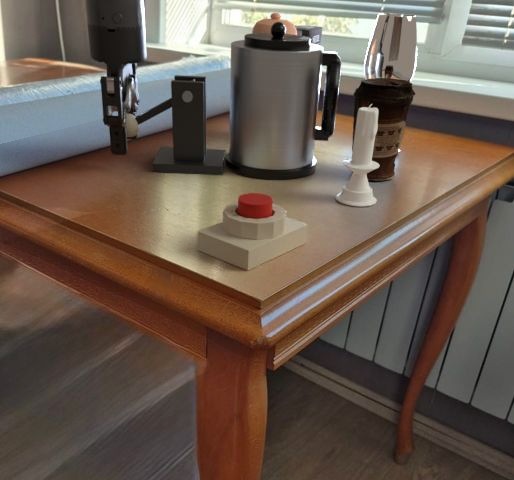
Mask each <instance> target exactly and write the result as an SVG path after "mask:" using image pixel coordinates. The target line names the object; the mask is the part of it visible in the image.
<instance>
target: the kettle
mask: <svg viewBox="0 0 514 480" xmlns="http://www.w3.org/2000/svg"><path fill="white" fill-rule="evenodd" d="M285 31H286V29H285V26H284V24H283V23H281V22H275V23H274V24H273V25H272V27H271V33H252V32H251V33H247V34H244V39H240V40H234V41H232V42H231V43H230V76H229V77H230V81H229V82H230V83H229V84H230V85H229V95H230V96H229V134H228V135H229V139H228V140H229V142H228V143H229V147H228V152H227V153H226V154H225V167H226V168H227V169H228V170H229V171H231V172H232V173H234V174H237V175H240V176H244V177H246V178H247V177H248V178H253V179H258V180H259V179H260V180H270V181H285V180H297V179H301V178H305V177H308V176H310V175H312V174H314V173H315V172H316V169H317V159H316V157H315V156H314V155H315V145H316V141H319V142H329V138H331V137H333V135H334V133H335V130H336V129H335V127H336V120H337V119H336V118H337V109H338V99H339V89H340V82H341V81H340V80H341V74H342V73H341V72H342V59H341V57H340V56H339V55H338V52H336V51H324V47H323V46H322V45H321V46H320V45H316V44H312V43H311V38H309V37H305V36H300V35H292V34H285ZM323 67H326V70H325V79H324V80H325V82H324V89H323V101H322V111H321V121H320V126H317V123H318V113H319V102H320V91H321V82H322V81H321V80H322V70H323Z"/></svg>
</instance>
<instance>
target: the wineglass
mask: <svg viewBox="0 0 514 480" xmlns="http://www.w3.org/2000/svg"><path fill="white" fill-rule="evenodd" d="M417 27H418V26H417V16H416V15H415V14H410V13H398V12H380V13H378V15H377V18H376V21H375V24H374V27H373V29H372V33H371V36H370V39H369V42H368V47H367V50H366V55H365V59H364V64H363V66H364V67H363V68H364V70H363V73H364V78H365V79H364V80H366V79H375V78H393V79H401V80H406V81H409V82H410V83H411V81H412V79H413V77H414V75H415V71H416V67H417V58H418V57H417V56H418V52H417V51H418V29H417ZM400 154H401V150H400V149H399V151H398V155H400Z"/></svg>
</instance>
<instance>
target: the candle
mask: <svg viewBox="0 0 514 480" xmlns="http://www.w3.org/2000/svg"><path fill="white" fill-rule="evenodd" d="M371 105H372V104H371ZM371 105H370V106H369V107H362V108H359V110H358V114H357V121H356V129H355V136H354V144H353V143H352V144H353V152H351V153H352V154H351V158H347V159H344V160H343V161H342V165H343V166H344V167H346V168H347V169H349V170H350V171H352V172H353V174H352V172H351V176H350V178H349V179H348V182H347V184H345V185H343V187H342V188H341V189H342V190H341V192H339V193H337V195H335V199H336V201H337V202H339V203H340V204H343V205H346V206H350V207H357V208H359V207H360V208H361V207H370V206H374V205H376V203H377V201H378V200H377V198H376V197H375V196H374V194H373V188H372V187H371V186H370V183H369V180H368V179H367V173H369V172H371V171H373V170H375V169H377V168H379V166H380V165H379V164H378V163H377V162H375V161H372V155H373V148H374V141H375V135H376V133H377V130H378V114H379V111H378V109H377V108H370V107H371Z"/></svg>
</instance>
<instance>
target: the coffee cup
mask: <svg viewBox="0 0 514 480" xmlns="http://www.w3.org/2000/svg"><path fill="white" fill-rule="evenodd" d="M352 96H353V97H354V101H353V103H354V104H353V107H354V109H353V122H352V144H351V151H352V152H353V144H354V136H355V129H356V121H357V114H358V110H359V108H362V107H369V106H370V105H371V104H372V105H371V107H370V108H377V109H378V111H379V114H378V130H377V133H376V135H375V141H374V148H373V155H372V161H375V162H377V163H378V164H379V165H380V166H379V168H377V169H375V170H373V171H371V172H369V173H367V179H368V181H387V180H388V181H389V180H392V179H393V178H395V176H396V174H395V168H396V158H397V157H398V155H399V154H398V151H399V150H400V147H401V145H402V143H403V138H404V135H405V132H406V126H407V124H406V121H407V118H408V113H409V109H410V107H411V105H412V102H413V101H414V97H415V96H416V92H415V91H414V89H413V83H412V82H411V81H410V82H409V81H406V80H401V79H393V78H375V79H363V80H360V84H359V85H358V87H356V89H355V91H354V92H353V93H352ZM352 152H351V153H352ZM350 171H351V170H350ZM352 174H353V172H352V171H351V175H352Z"/></svg>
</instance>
